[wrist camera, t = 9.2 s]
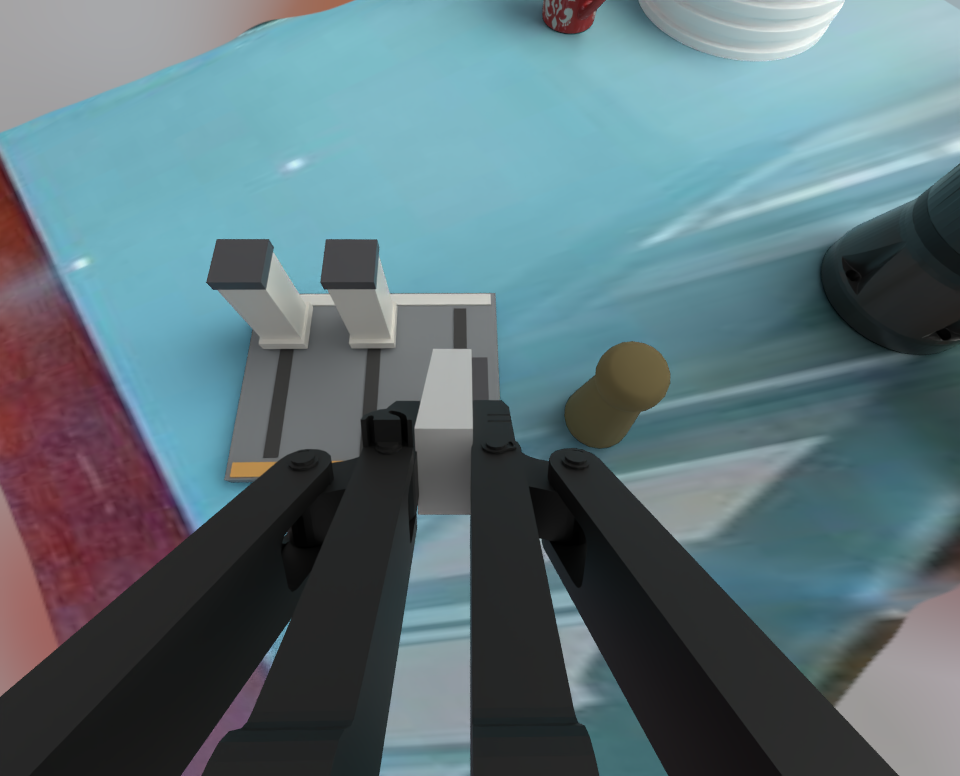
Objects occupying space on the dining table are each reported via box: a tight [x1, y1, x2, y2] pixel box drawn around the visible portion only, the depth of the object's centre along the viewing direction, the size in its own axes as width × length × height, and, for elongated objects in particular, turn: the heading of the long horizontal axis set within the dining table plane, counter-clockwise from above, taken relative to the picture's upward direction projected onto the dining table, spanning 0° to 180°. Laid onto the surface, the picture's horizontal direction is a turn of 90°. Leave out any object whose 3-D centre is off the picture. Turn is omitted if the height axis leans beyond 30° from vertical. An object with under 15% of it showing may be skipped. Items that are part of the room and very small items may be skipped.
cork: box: [564, 341, 670, 448], centre depth 36 cm, size 6×6×11 cm
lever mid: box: [321, 239, 397, 348], centre depth 37 cm, size 4×4×10 cm
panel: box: [224, 293, 500, 482], centre depth 41 cm, size 18×23×1 cm
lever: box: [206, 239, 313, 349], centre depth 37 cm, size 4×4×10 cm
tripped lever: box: [472, 357, 489, 400], centre depth 34 cm, size 4×4×10 cm
